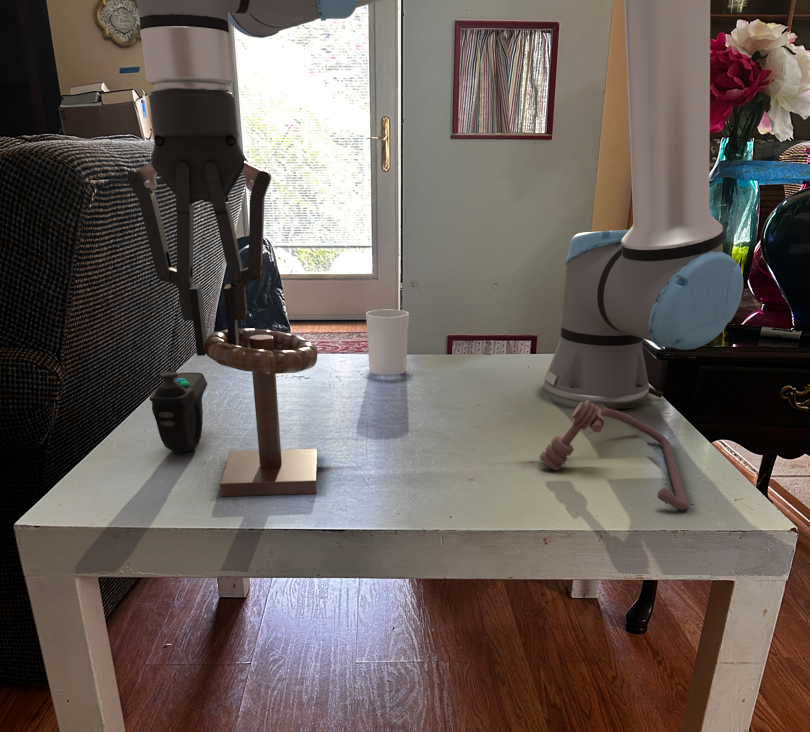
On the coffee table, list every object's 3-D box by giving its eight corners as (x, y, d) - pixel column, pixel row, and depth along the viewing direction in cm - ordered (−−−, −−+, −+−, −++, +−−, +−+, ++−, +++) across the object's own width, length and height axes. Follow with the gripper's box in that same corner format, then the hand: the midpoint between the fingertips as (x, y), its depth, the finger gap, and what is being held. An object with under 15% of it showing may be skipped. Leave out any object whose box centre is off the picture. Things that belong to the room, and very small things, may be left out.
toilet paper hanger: (698, 501, 78) (584, 425, 77) (644, 561, 82) (534, 489, 81) (676, 433, 97) (583, 371, 96) (632, 484, 101) (543, 425, 100)
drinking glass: (408, 382, 123) (408, 317, 118) (365, 382, 123) (364, 317, 118) (408, 371, 129) (409, 309, 124) (368, 371, 129) (367, 309, 124)
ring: (317, 354, 87) (319, 334, 86) (315, 381, 77) (317, 359, 76) (213, 342, 86) (213, 322, 85) (196, 368, 76) (197, 345, 75)
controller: (154, 464, 90) (141, 379, 86) (182, 430, 102) (172, 353, 97) (191, 465, 90) (180, 379, 86) (215, 430, 101) (207, 353, 97)
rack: (317, 460, 92) (310, 326, 85) (316, 493, 83) (309, 347, 76) (231, 462, 91) (217, 327, 84) (221, 496, 82) (205, 348, 75)
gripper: (281, 92, 74) (296, 342, 85) (111, 91, 73) (148, 345, 83) (277, 87, 67) (294, 359, 78) (90, 85, 66) (133, 362, 77)
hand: (218, 351), depth 80 cm, fingers closed on ring, 3 cm apart
